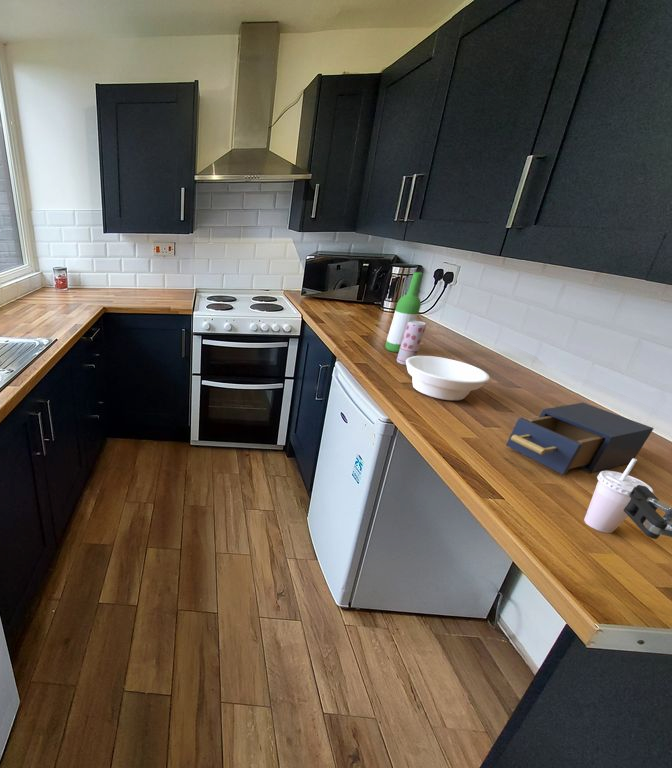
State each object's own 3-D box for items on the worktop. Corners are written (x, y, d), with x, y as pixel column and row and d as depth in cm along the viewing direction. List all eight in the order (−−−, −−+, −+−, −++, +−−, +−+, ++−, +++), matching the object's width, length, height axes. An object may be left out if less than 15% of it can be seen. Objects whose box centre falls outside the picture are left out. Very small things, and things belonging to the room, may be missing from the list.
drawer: (547, 478, 82) (563, 448, 79) (490, 448, 92) (503, 420, 89) (603, 464, 88) (620, 436, 85) (544, 437, 97) (557, 411, 94)
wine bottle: (407, 354, 154) (432, 275, 141) (384, 351, 156) (407, 273, 144) (405, 349, 160) (429, 272, 148) (384, 345, 163) (405, 270, 151)
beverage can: (395, 358, 149) (407, 319, 143) (413, 361, 147) (425, 321, 141) (396, 363, 144) (408, 323, 138) (414, 366, 142) (427, 325, 136)
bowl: (389, 375, 133) (396, 352, 130) (459, 382, 130) (468, 359, 126) (412, 403, 115) (421, 377, 111) (494, 412, 111) (506, 386, 108)
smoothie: (570, 507, 76) (607, 445, 70) (618, 522, 72) (661, 458, 66) (577, 527, 71) (617, 462, 65) (629, 544, 67) (676, 477, 62)
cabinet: (591, 473, 86) (612, 437, 82) (526, 442, 97) (543, 409, 93) (632, 462, 90) (654, 428, 87) (566, 434, 101) (583, 402, 98)
